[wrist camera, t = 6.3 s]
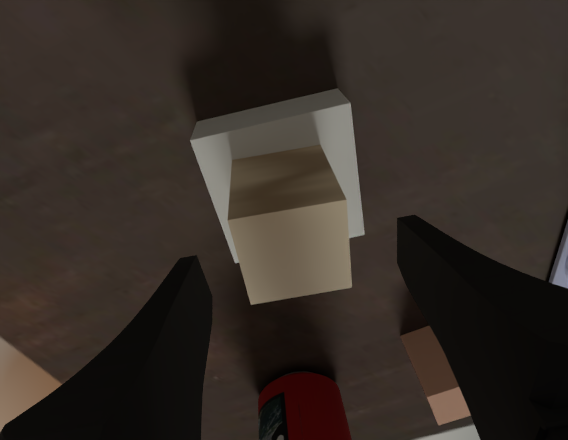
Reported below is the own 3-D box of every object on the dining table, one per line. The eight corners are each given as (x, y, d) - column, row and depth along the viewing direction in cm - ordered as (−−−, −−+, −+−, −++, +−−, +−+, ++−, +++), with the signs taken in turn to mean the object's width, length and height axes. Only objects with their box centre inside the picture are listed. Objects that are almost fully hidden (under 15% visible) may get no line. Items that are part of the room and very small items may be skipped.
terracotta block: (451, 317, 27) (488, 377, 23) (459, 347, 29) (494, 407, 25) (399, 335, 28) (427, 397, 24) (411, 364, 30) (438, 425, 26)
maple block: (320, 144, 16) (346, 199, 12) (327, 219, 18) (351, 287, 14) (231, 159, 16) (227, 220, 12) (249, 232, 18) (250, 304, 14)
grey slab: (335, 86, 18) (350, 102, 15) (350, 205, 22) (364, 234, 19) (197, 119, 18) (189, 140, 16) (236, 231, 22) (235, 263, 19)
